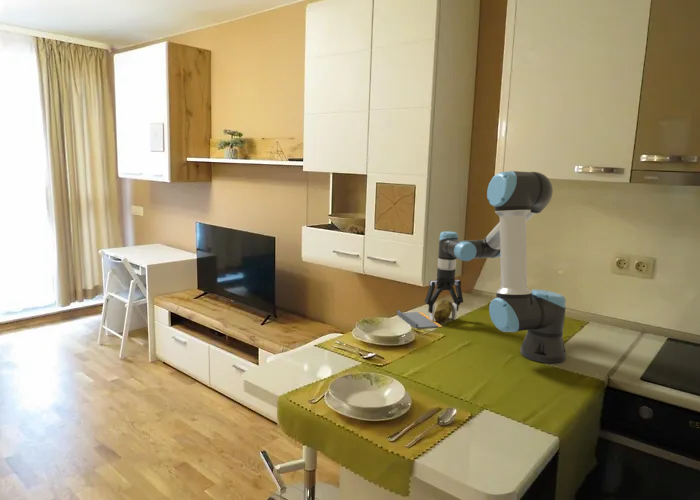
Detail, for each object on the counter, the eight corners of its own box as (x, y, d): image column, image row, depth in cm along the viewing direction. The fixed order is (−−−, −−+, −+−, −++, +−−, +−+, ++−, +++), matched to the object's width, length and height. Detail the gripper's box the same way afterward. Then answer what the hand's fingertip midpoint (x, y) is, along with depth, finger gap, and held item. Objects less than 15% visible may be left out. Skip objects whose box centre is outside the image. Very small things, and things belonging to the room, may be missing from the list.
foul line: (442, 326, 211) (442, 326, 211) (439, 327, 210) (439, 326, 210) (421, 312, 230) (421, 312, 229) (419, 313, 229) (419, 312, 229)
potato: (426, 321, 217) (427, 303, 216) (440, 315, 227) (441, 297, 226) (444, 325, 212) (445, 307, 211) (457, 318, 222) (458, 300, 221)
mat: (437, 327, 210) (437, 322, 210) (415, 329, 207) (416, 324, 207) (417, 313, 229) (417, 308, 229) (396, 314, 226) (397, 310, 226)
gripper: (465, 265, 223) (461, 315, 226) (418, 267, 216) (415, 318, 220) (474, 269, 216) (470, 320, 219) (426, 270, 209) (422, 323, 213)
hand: (442, 319), depth 220 cm, fingers open, 10 cm apart
